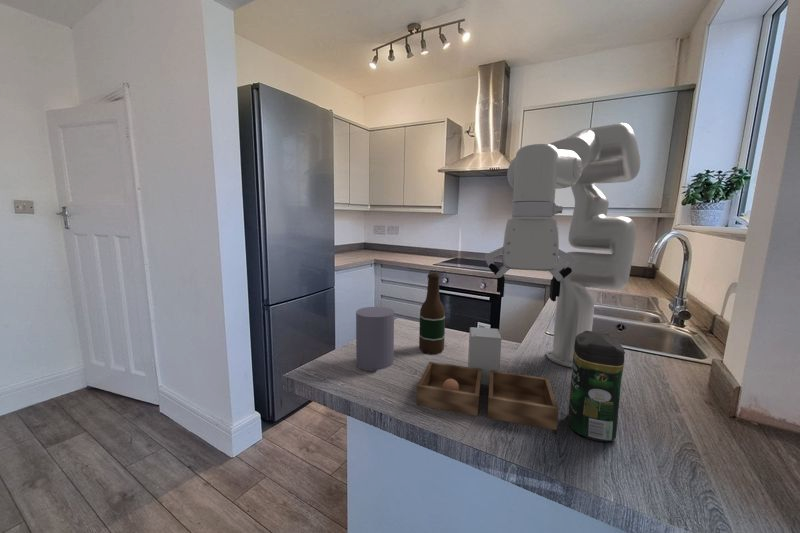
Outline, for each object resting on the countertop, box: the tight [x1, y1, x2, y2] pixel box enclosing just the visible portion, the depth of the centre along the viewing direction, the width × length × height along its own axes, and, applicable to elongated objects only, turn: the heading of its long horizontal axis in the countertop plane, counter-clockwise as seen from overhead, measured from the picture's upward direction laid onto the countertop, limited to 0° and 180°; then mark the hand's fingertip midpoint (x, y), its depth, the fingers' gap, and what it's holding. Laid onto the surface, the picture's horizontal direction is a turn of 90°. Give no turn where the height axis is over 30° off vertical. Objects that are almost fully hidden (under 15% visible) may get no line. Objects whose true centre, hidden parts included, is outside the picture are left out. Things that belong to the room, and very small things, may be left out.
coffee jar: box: [568, 330, 626, 442], centre depth 61 cm, size 10×8×19 cm
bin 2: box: [487, 370, 559, 435], centre depth 68 cm, size 13×13×5 cm
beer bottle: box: [418, 272, 446, 355], centre depth 98 cm, size 8×8×24 cm
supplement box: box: [467, 326, 502, 386], centre depth 80 cm, size 7×7×13 cm
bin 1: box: [416, 361, 482, 417], centre depth 72 cm, size 13×13×5 cm
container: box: [355, 306, 395, 373], centre depth 88 cm, size 10×10×15 cm
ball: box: [443, 379, 459, 391], centre depth 72 cm, size 4×4×4 cm
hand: (526, 297), depth 65 cm, fingers open, 9 cm apart
